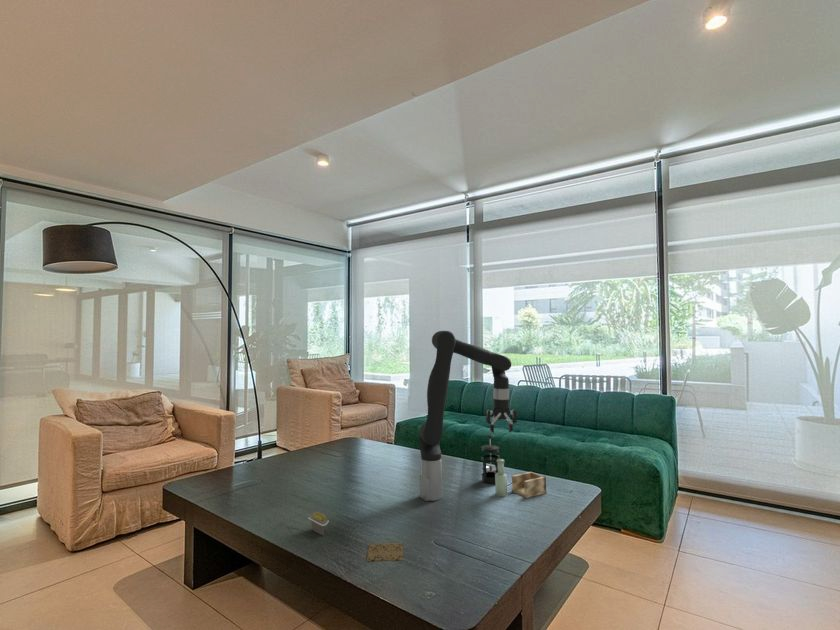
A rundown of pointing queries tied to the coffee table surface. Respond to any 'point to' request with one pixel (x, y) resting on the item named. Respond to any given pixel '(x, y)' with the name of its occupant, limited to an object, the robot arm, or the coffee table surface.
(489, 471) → the french press
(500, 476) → the pale green pin
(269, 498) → the coffee table surface
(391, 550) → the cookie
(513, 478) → the u rest
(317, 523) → the plastic food container
